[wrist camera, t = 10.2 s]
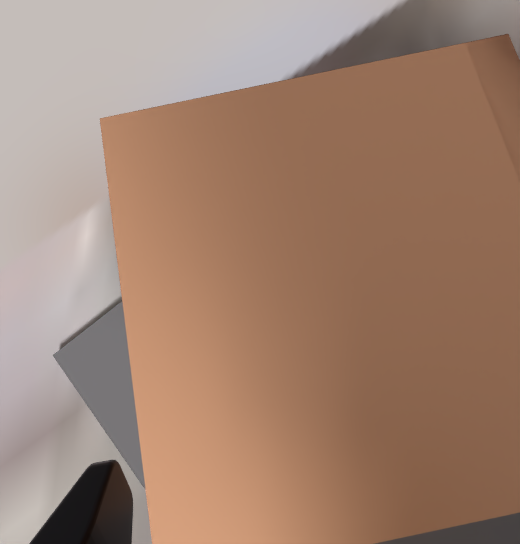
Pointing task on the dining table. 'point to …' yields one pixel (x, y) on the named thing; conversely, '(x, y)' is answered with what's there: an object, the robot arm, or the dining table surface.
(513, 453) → the tan tall block
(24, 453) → the dining table surface
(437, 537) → the mat
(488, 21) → the dining table surface
